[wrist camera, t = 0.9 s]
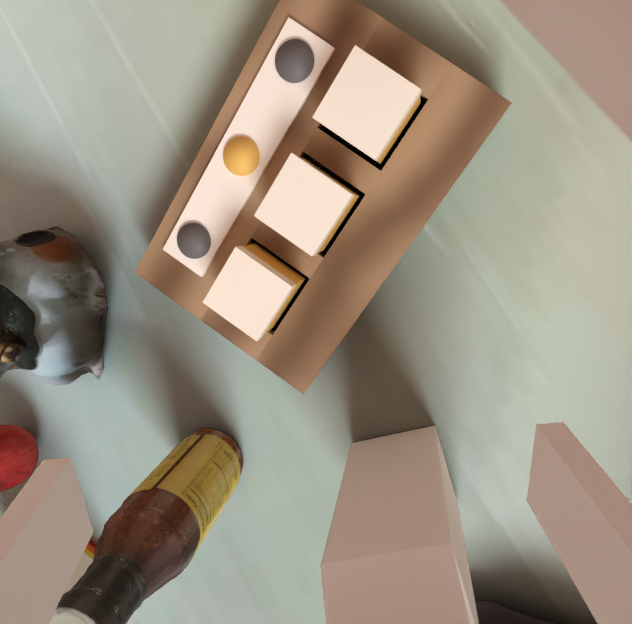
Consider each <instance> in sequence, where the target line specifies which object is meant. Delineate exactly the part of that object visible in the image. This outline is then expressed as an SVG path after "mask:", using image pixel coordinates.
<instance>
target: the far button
mask: <svg viewBox="0 0 632 624" xmlns="http://www.w3.org/2000/svg"><path fill="white" fill-rule="evenodd" d="M305 279H306V278H304V277H303V276H301V275H300V274H299V273H297V272H296V271H294V270H293V269H291V268H290V267H289V266H287V265H286V264H284V263H283V262H281V261H280V260H279V259H277V258H276V257H274V256H273V255H272V254H270V253H269V252H267V251H266V250H264V249H263V248H262V247H260V246H259V245H257V244H256V243H255V244H251V245H246V246H237V247H235V248H234V250H233V252H232V253H231V255H230V257H229V258H228V260H227V262H226V264H225V265H224V267H223V269H222V270H221V272H220V274H219V275H218V277H217V279H216V280H215V282H214V284H213V285H212V287H211V289H210V291H209V292H208V294H207V296H206V297H205V299H204V301H203V302H202V303H204V304H205V305H207V306H208V307H209V308H211V309H212V310H214V311H215V312H216V313H218V314H219V315H220V316H222V317H223V318H225V319H226V320H227V321H229V322H230V323H232V324H233V325H234V326H236V327H237V328H239V329H240V330H241V331H243V332H244V333H246V334H247V335H248V336H250V337H251V338H253V339H254V340H255V341H258V340H259V339H260V338H262V336H263V335H264V334H265V333H267V332H268V331H269V330H270V329H272V328H273V327H274V326H275V324H276V323H277V321H278V320H279V318H280V317H281V315H282V314H283V312H284V311H285V309H286V307H287V306H288V304H289V303H290V301H291V300H292V298H293V297H294V295H295V294H296V292H297V291H298V289H299V288H300V286H301V285H302V283H303V282H304V280H305Z"/></svg>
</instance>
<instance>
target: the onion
mask: <svg viewBox="0 0 632 624" xmlns="http://www.w3.org/2000/svg"><path fill="white" fill-rule="evenodd" d="M37 462H38V445H37V442H36V440H35V437H34V436H33V435H32V434H30V433H29V432H28V431H27V430H25V429H23V428H21V427H18V426H16V425H0V492H1V491H5V490H8V489H10V488H12V487H14V486H17V485H19V484H20V483H22V482H24V481H25V480H26V479H27V478H28V477H30V475H31V474H32V472H33V471H34V469H35V467H36V465H37Z"/></svg>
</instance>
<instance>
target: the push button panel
mask: <svg viewBox="0 0 632 624" xmlns="http://www.w3.org/2000/svg"><path fill="white" fill-rule="evenodd" d="M334 51H335V48H334V47H333V46H331V45H330V44H328V43H327V42H325V41H324V40H322V39H321V38H319V37H318V36H316V35H315V34H313V33H312V32H310V31H309V30H307V29H306V28H304V27H303V26H301V25H300V24H298V23H297V22H295V21H294V20H292V19H291V18H289V17H288V19H287V21H286V23H285V25H284V27H283V28H282V30H281V32H280V34H279V36H278V38H277V39H276V41H275V43H274V45H273V47H272V49H271V50H270V52H269V54H268V56H267V58H266V60H265V62H264V63H263V65H262V67H261V69H260V71H259V73H258V74H257V76H256V78H255V80H254V82H253V84H252V85H251V87H250V89H249V91H248V93H247V95H246V97H245V98H244V100H243V102H242V104H241V106H240V108H239V109H238V111H237V113H236V115H235V117H234V119H233V121H232V122H231V124H230V126H229V128H228V130H227V132H226V133H225V135H224V137H223V139H222V141H221V143H220V144H219V146H218V148H217V150H216V152H215V154H214V156H213V157H212V159H211V161H210V163H209V165H208V167H207V168H206V170H205V172H204V174H203V176H202V178H201V179H200V181H199V183H198V185H197V187H196V189H195V191H194V192H193V194H192V196H191V198H190V200H189V202H188V203H187V205H186V207H185V209H184V211H183V213H182V214H181V216H180V218H179V220H178V222H177V224H176V226H175V227H174V229H173V231H172V233H171V235H170V237H169V238H168V240H167V242H166V244H165V246H164V248H163V250H164V251H165V252H167V253H168V254H170V255H171V256H173V257H174V258H175V259H177V260H178V261H180V262H181V263H182V264H184V265H185V266H187V267H188V268H189V269H191V270H192V271H194V272H195V273H196V274H198V275H199V276H201V277H203V276H204V274H205V272H206V270H207V269H208V267H209V265H210V263H211V262H212V260H213V258H214V257H215V255H216V253H217V251H218V250H219V248H220V246H221V245H222V243H223V241H224V239H225V238H226V236H227V234H228V233H229V231H230V229H231V227H232V226H233V224H234V222H235V221H236V219H237V217H238V215H239V214H240V212H241V210H242V209H243V207H244V205H245V203H246V202H247V200H248V198H249V197H250V195H251V193H252V191H253V190H254V188H255V186H256V185H257V183H258V181H259V179H260V178H261V176H262V174H263V172H264V171H265V169H266V167H267V166H268V164H269V162H270V160H271V159H272V157H273V155H274V154H275V152H276V150H277V148H278V147H279V145H280V143H281V142H282V140H283V138H284V136H285V135H286V133H287V131H288V130H289V128H290V126H291V124H292V123H293V121H294V119H295V118H296V116H297V114H298V112H299V111H300V109H301V107H302V106H303V104H304V102H305V100H306V99H307V97H308V95H309V93H310V92H311V90H312V88H313V87H314V85H315V83H316V81H317V80H318V78H319V76H320V75H321V73H322V71H323V69H324V68H325V66H326V64H327V63H328V61H329V59H330V57H331V56H332V54H333V52H334Z"/></svg>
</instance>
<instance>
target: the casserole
mask: <svg viewBox="0 0 632 624" xmlns="http://www.w3.org/2000/svg"><path fill="white" fill-rule="evenodd" d="M475 604H476V610H477V616H478V621H479V624H558V623H554V622H550V621H545V620H541V619H537V618H534V617H531V616H528V615H526V614H523V613H521V612H518V611H516V610H513V609H511V608H508V607H506V606H503V605H500V604H498V603H495V602H493V601H479V600H475Z"/></svg>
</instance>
